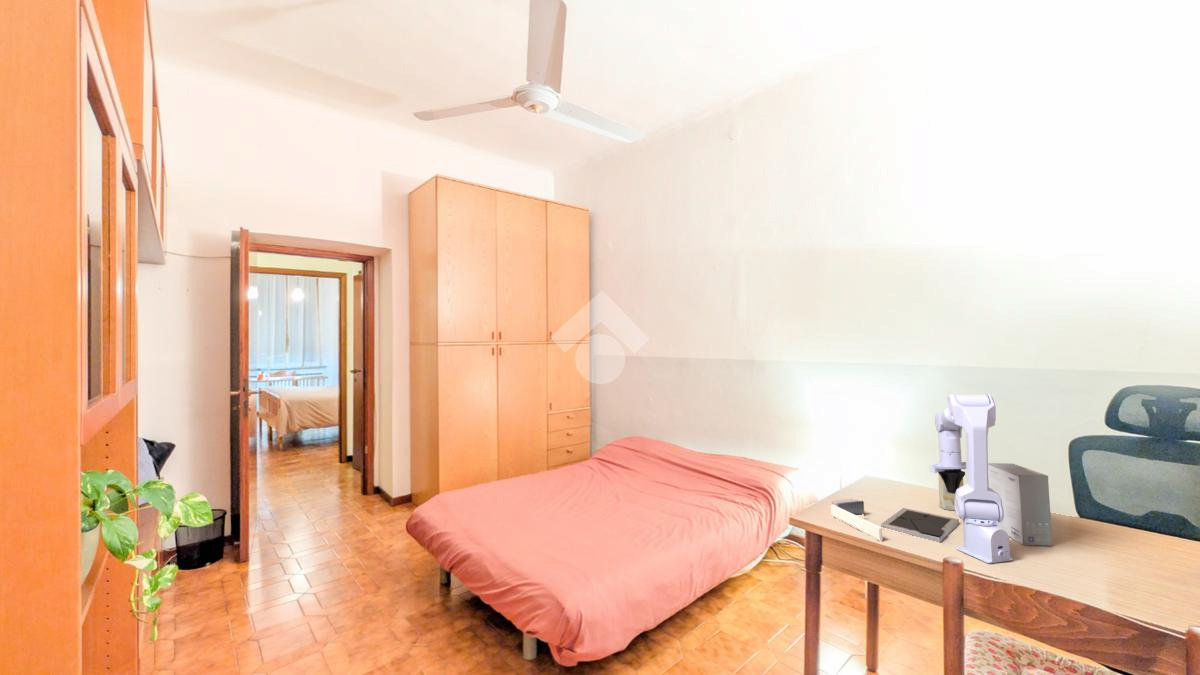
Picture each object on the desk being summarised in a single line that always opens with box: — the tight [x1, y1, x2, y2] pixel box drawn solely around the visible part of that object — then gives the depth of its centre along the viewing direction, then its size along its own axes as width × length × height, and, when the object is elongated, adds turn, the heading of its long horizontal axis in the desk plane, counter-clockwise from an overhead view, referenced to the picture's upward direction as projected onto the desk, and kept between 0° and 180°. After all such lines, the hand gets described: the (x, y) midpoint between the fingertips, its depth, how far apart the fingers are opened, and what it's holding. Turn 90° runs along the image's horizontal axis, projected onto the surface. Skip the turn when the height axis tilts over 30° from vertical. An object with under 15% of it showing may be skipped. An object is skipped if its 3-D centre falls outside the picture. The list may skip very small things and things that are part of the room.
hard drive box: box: [988, 462, 1053, 547], centre depth 140 cm, size 16×8×20 cm, turn 168°
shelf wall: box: [830, 504, 883, 540], centre depth 151 cm, size 22×1×4 cm, turn 10°
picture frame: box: [880, 507, 960, 543], centre depth 150 cm, size 16×3×21 cm
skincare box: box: [937, 472, 964, 511], centre depth 164 cm, size 6×4×12 cm
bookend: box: [837, 500, 865, 515], centre depth 159 cm, size 3×10×5 cm, turn 100°
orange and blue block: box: [831, 498, 860, 506], centre depth 162 cm, size 4×9×5 cm, turn 100°
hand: (952, 492), depth 153 cm, fingers closed
